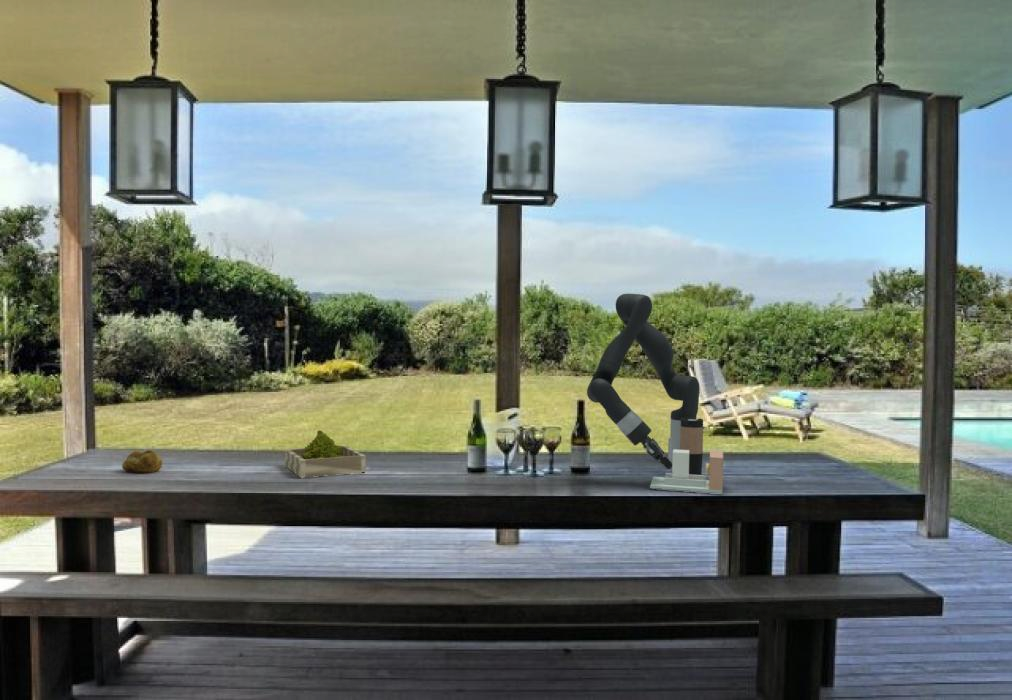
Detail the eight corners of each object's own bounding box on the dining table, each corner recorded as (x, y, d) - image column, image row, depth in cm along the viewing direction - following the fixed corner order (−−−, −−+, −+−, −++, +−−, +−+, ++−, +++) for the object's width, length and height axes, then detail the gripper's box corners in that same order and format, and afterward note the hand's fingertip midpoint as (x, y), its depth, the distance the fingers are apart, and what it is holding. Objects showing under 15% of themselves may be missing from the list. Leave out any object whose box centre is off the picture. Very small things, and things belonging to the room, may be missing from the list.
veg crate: (285, 466, 280) (285, 449, 279) (345, 461, 290) (345, 445, 290) (300, 478, 259) (300, 460, 259) (365, 473, 270) (365, 455, 270)
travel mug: (685, 480, 265) (687, 420, 264) (675, 475, 272) (676, 417, 272) (706, 479, 267) (707, 420, 266) (695, 474, 275) (696, 417, 274)
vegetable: (293, 464, 264) (305, 424, 272) (297, 480, 277) (308, 441, 285) (337, 472, 265) (348, 432, 273) (338, 488, 278) (348, 449, 286)
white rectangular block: (671, 483, 251) (672, 452, 251) (672, 479, 257) (673, 449, 257) (688, 484, 250) (688, 453, 249) (688, 480, 256) (689, 450, 255)
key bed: (650, 490, 249) (650, 453, 249) (653, 481, 263) (654, 446, 262) (722, 495, 243) (723, 458, 243) (721, 485, 257) (722, 450, 256)
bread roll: (116, 473, 265) (115, 449, 264) (134, 467, 274) (134, 445, 274) (151, 475, 263) (150, 451, 262) (168, 469, 272) (168, 446, 272)
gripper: (640, 422, 249) (678, 463, 247) (643, 417, 262) (680, 456, 260) (622, 438, 251) (661, 479, 248) (627, 432, 264) (663, 471, 261)
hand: (670, 467), depth 254 cm, fingers closed
